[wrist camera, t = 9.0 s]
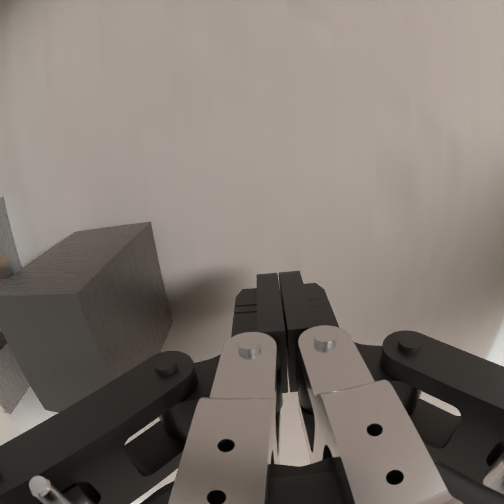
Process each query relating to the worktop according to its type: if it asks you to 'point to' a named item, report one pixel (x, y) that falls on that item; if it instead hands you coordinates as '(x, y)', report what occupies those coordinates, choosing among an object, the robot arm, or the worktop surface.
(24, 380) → the gauge housing
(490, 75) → the worktop surface
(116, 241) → the dark cube on shaft
